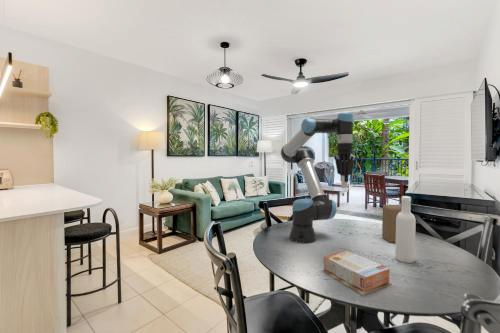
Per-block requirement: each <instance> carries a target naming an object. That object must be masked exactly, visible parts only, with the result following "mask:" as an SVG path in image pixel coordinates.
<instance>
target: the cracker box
mask: <svg viewBox="0 0 500 333" xmlns="http://www.w3.org/2000/svg"><path fill="white" fill-rule="evenodd" d="M323 269H324V270H325V271H329V272H331V273H332V274H334V275H336V276H338V277H340V278H341V279H343V280H345V281H347V282H349V283H350V284H352V285H354V286H356V287H358V288H359V289H361V290H363V291H365V292H367V291H369V290H372V289H374V288H376V287H379V286H381V285H384V284H386V283H389V282H390V268H389V267H387V266H385V265H382V264H380V263H378V262H375V261H373V260H370V259H368V258H366V257H363V256H360V255H358V254H356V253H354V252H351V251H348V250H346V249H345V250H342V251H340V252H336V253H332V254H329V255H325V256H323Z"/></svg>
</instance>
